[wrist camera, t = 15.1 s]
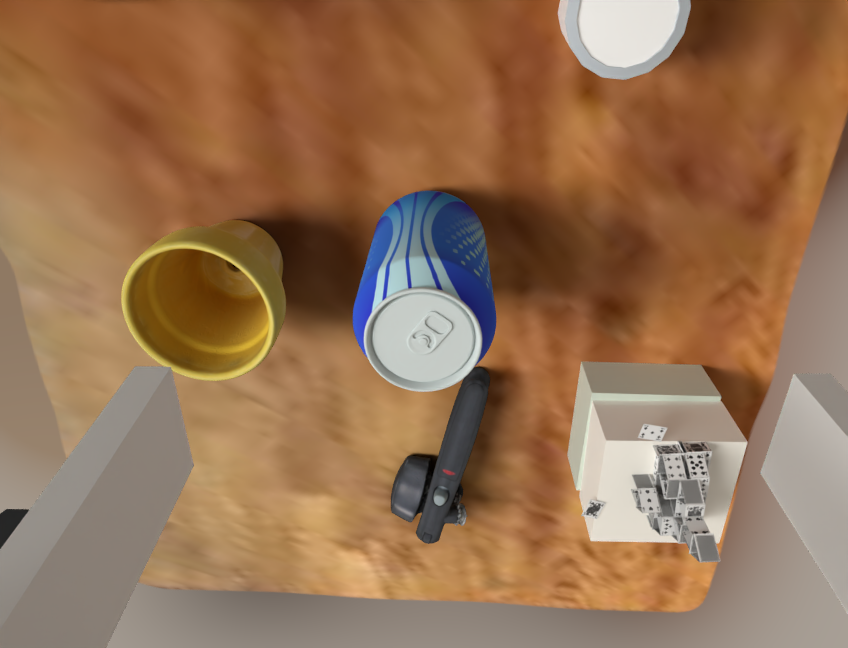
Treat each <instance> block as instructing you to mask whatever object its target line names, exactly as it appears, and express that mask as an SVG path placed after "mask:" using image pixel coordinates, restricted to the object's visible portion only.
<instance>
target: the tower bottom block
mask: <svg viewBox="0 0 848 648" xmlns="http://www.w3.org/2000/svg"><path fill="white" fill-rule="evenodd" d="M592 400H623V401H720V400H721V395H720V393H719V392H718V390H717V389H716V387H715V386H714V384H713V383H712V381H711V380H710V378H709V376H708V375H707V373H706V372H705V370H704V369H703V367H702V366H701V365H686V364H649V363H613V362H581V367H580V374H579V381H578V387H577V394H576V401H575V408H574V414H573V421H572V428H571V435H570V441H569V448H568V459H569V463H570V467H571V471H572V475H573V479H574V483H575V487H576V490H580V488H581V481H582V474H583V466H584V459H585V451H586V444H587V436H588V429H589V422H590V414H591V407H592Z"/></svg>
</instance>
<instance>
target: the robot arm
mask: <svg viewBox="0 0 848 648" xmlns="http://www.w3.org/2000/svg"><path fill="white" fill-rule="evenodd" d="M193 466H194V464H193V460H192V455H191V451H190V447H189V442H188V438H187V434H186V429H185V425H184V421H183V416H182V412H181V408H180V404H179V399H178V395H177V391H176V386H175V382H174V378H173V373H172V369H171V367H145V366H135V367H134V369H133V370H132V372H131V373H130V374H129V376H128V377H127V378H126V380H125V381H124V382H123V384H122V385H121V386H120V388H119V389H118V391H117V392H116V393H115V395H114V396H113V397H112V399H111V400H110V401H109V403H108V404H107V405H106V407H105V408H104V409H103V411H102V412H101V414H100V415H99V416H98V418H97V419H96V420H95V422H94V423H93V424H92V426H91V427H90V428H89V430H88V431H87V433H86V434H85V435H84V437H83V438H82V439H81V441H80V442H79V443H78V445H77V446H76V447H75V449H74V450H73V451H72V453H71V454H70V456H69V457H68V458H67V460H66V461H65V462H64V464H63V465H62V467H61V468H60V469H59V470H58V472H57V473H56V475H55V476H54V477H53V479H52V480H51V481H50V483H49V484H48V485H47V487H46V488H45V490H44V491H43V492H42V494H41V495H40V496H39V498H38V499H37V500H36V502H35V503H34V505H33V506H32V507H31V508H30V510H26V509H25V510H24V509H6V510H5V511H3V512H2V513H1V514H0V648H106V647H107V645H108V643H109V641H110V639H111V637H112V634H113V633H114V630H115V628H116V626H117V624H118V622H119V620H120V618H121V616H122V614H123V611H124V609H125V608H126V605H127V603H128V601H129V599H130V597H131V595H132V593H133V591H134V589H135V587H136V585H137V583H138V581H139V578H140V576H141V574H142V572H143V570H144V568H145V566H146V564H147V562H148V560H149V558H150V556H151V553H152V551H153V549H154V547H155V545H156V543H157V541H158V539H159V537H160V535H161V533H162V531H163V528H164V526H165V524H166V522H167V520H168V518H169V516H170V514H171V512H172V510H173V508H174V506H175V504H176V501H177V499H178V497H179V495H180V493H181V491H182V489H183V487H184V485H185V483H186V481H187V479H188V476H189V474H190V472H191V470H192V468H193ZM760 474H761V475H762V477H763V478H764V480H765V482H766V483H767V485H768V487H769V488H770V490H771V491H772V493H773V495H774V496H775V498H776V499H777V501H778V503H779V504H780V506H781V508H782V509H783V511H784V512H785V514H786V515H787V517H788V519H789V520H790V522H791V524H792V525H793V527H794V529H795V530H796V532H797V533H798V535H799V537H800V538H801V540H802V541H803V543H804V544H805V546H806V548H807V549H808V551H809V552H810V554H811V556H812V558H813V559H814V561H815V562H816V564H817V565H818V567H819V569H820V570H821V572H822V574H823V575H824V577H825V578H826V580H827V582H828V583H829V585H830V587H831V588H832V590H833V591H834V593H835V595H836V596H837V598H838V599H839V601H840V602H841V604H842V606H843V608H844V609H845V611H846V612H847V614H848V392H847V391H846V390H845V389H844V387H843V386H842V385H841V384H840V383H839V382H838V381H837V380H836V379H835V378H834V377H833V376H832V375H831V374H794V375H793V378H792V380H791V383H790V387H789V389H788V392H787V395H786V399H785V401H784V404H783V407H782V410H781V413H780V416H779V419H778V422H777V425H776V428H775V431H774V434H773V437H772V440H771V443H770V446H769V448H768V452H767V454H766V457H765V460H764V463H763V466H762V469H761V472H760Z"/></svg>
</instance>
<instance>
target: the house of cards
mask: <svg viewBox="0 0 848 648" xmlns="http://www.w3.org/2000/svg"><path fill="white" fill-rule="evenodd" d="M666 430H667V428H666V427H661V426H655V425H649V424H643V426H642V429H641V431H640V433H639V436H638V438H642V439H648V440H654V441H659V442H661V441H662V439H663V437H664V434H665V432H666ZM653 448H654V450H655V461H654V470H653V479H651V477H650V475H649V474H632V477H633V480H634V483H635V485H636V488H637V489H631V491H632V494H633V497H634V500H635V502H636V505H637V507H636V508H637V509H638V510H639V511H640V512H642V513H649V514H648V515H646V516H647V519H648V522H649V524H650V527H652V530H655V531H656V532H657V533H658V534H659V535H660V536H669V535H671V536H672V537H673V538H674V539H675V540H677V541H678V543H687V545H688V548H689V550H690V551H689V554H691V555H692V556H694V557H695V558H696V559H697V560H698V561H699V562H720V557H719V553H718V549H717V545H716V541H715V537H714V533H710V531H709V529H708V527H707V525H706V523H705V521H704V519H703V518H704V512H705V506H706V504H705V503H706V497H707V493H708V487H709V481H710V477H709V473H708V471H709V465H710V462H711V456H712V451H711V449H710V448H709V446H708V444H707V442H686V443H682V441H681V446H680V444H679V442H677V444H659V445H653ZM605 504H606V503H604V502H600V501H596V500H592V499H590V500H589V502H588V504H587V506H586V508H585V510H584V511H583V513H582V515H581V516H585V517H589V518H594V519H597V518H598V516H599V514H600V513H601V511H602V509H603V507H604V505H605Z"/></svg>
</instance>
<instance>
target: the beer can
mask: <svg viewBox="0 0 848 648" xmlns="http://www.w3.org/2000/svg"><path fill="white" fill-rule="evenodd" d="M353 327H354V332H355V336H356V339H357V341H358V344H359V346H360V347H361V349H362V351H363V352H364V354H365V355H366V357H367V358H368V359H369V361H370V363H371V364H372V366H373V367H374V369H375V370H376V371H377V372H378V373H379V374H380V375H381V376H382V377H383V378H384V379H386V380H387V381H389V382H390V383H392V384H394V385H396V386H398V387H401V388H404V389H407V390H412V391H420V392H428V391H437V390H441V389H444V388H447V387H450V386H452V385H454V384H456V383H458V382H459V381H461V380H462V379H463V378H465V377H466V376H467V375H468V374H469V373H470V372H471V370H472V369H473V368H474V366H475V365H476V364H477V363H478V362H479V361H480V360H481V359H482V358H483V357H484V355H485V354H486V352H487V351H488V349H489V347H490V345H491V343H492V340H493V337H494V334H495V328H496V310H495V303H494V296H493V289H492V282H491V275H490V268H489V260H488V253H487V246H486V239H485V233H484V229H483V226H482V224H481V222H480V220H479V218H478V216H477V215H476V213H475V212H474V211H473V210H472V209H471V208H470V207H469V206H468V205H467V204H466V203H465V202H463V201H462V200H460V199H459V198H457V197H455V196H453V195H450V194H447V193H444V192H439V191H419V192H415V193H411V194H408V195H406V196H404V197H402V198H400V199H398V200H397V201H395V202H394V203H393V204H392V205H390V206H389V207H388V208H387V210H386V211H385V212H384V213H383V215H382V216H381V218H380V220H379V222H378V224H377V226H376V230H375V233H374V237H373V240H372V244H371V247H370V251H369V254H368V258H367V262H366V265H365V269H364V272H363V276H362V279H361V283H360V286H359V290H358V293H357V297H356V300H355V304H354V309H353Z"/></svg>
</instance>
